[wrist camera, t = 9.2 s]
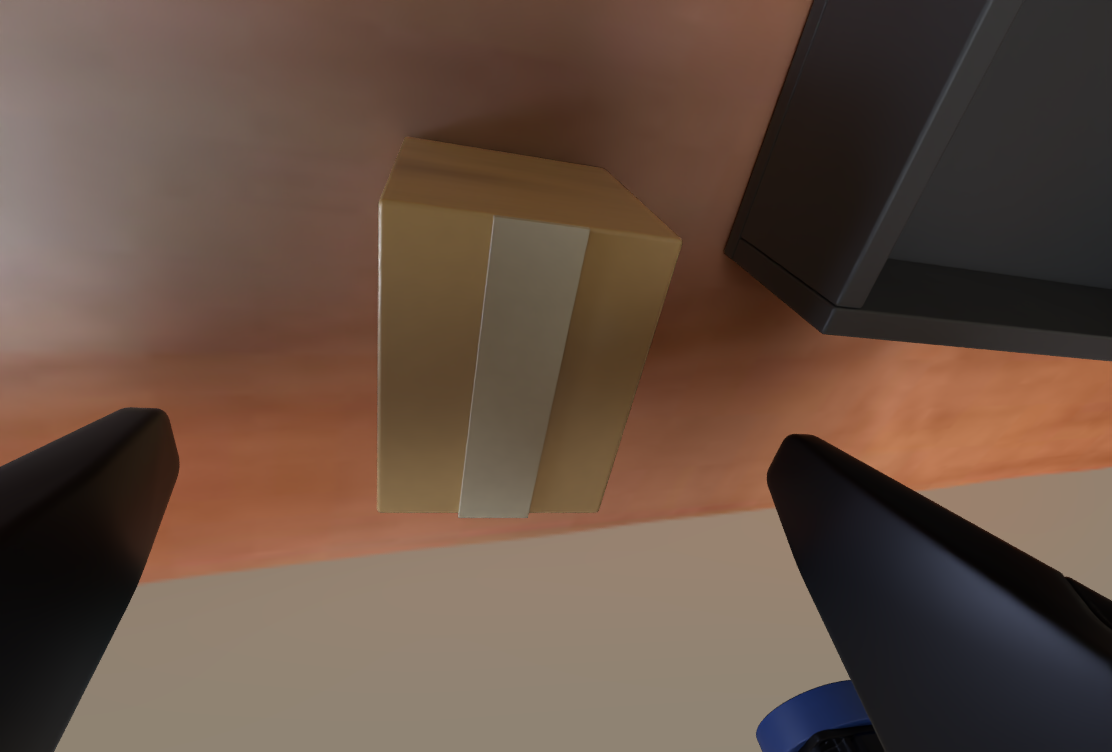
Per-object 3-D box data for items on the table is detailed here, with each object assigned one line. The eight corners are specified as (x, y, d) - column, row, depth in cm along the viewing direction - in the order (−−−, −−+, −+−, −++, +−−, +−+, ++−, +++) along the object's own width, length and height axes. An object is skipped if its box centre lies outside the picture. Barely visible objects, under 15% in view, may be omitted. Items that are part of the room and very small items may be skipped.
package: (559, 383, 15) (600, 517, 11) (397, 373, 14) (375, 518, 10) (606, 168, 12) (687, 242, 8) (403, 135, 11) (376, 200, 7)
